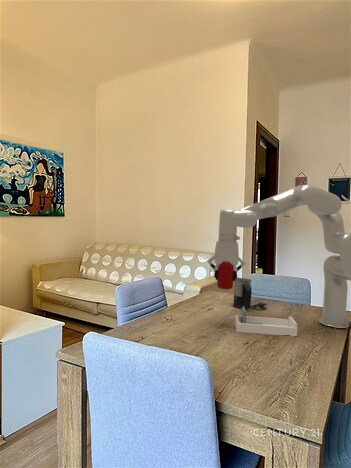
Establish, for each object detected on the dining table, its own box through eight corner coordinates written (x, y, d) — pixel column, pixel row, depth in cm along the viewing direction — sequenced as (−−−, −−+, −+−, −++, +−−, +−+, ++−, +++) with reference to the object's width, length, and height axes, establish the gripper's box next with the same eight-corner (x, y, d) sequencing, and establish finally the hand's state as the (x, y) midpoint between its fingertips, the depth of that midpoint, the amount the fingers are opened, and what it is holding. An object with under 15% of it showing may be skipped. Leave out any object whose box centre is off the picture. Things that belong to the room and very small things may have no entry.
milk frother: (229, 305, 174) (230, 278, 174) (251, 302, 182) (252, 276, 181) (246, 312, 162) (248, 283, 161) (269, 309, 169) (271, 281, 168)
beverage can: (232, 287, 142) (233, 260, 141) (233, 290, 135) (234, 262, 135) (216, 286, 143) (218, 259, 142) (217, 289, 136) (218, 261, 135)
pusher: (261, 323, 141) (261, 307, 141) (264, 329, 133) (264, 313, 132) (241, 321, 142) (242, 306, 142) (243, 328, 134) (243, 312, 133)
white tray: (290, 327, 141) (291, 316, 141) (296, 336, 130) (297, 324, 130) (234, 323, 144) (235, 311, 144) (236, 331, 133) (237, 319, 133)
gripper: (247, 239, 140) (245, 279, 141) (207, 237, 143) (205, 277, 143) (249, 240, 133) (246, 283, 134) (206, 238, 135) (204, 280, 136)
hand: (225, 279), depth 139 cm, fingers closed on beverage can, 6 cm apart
